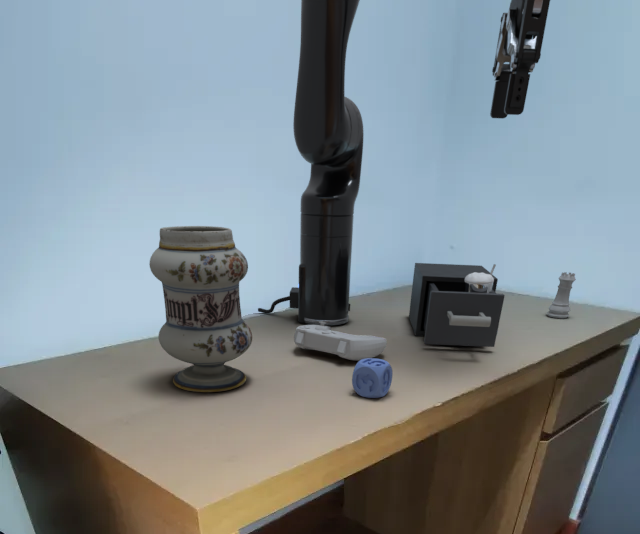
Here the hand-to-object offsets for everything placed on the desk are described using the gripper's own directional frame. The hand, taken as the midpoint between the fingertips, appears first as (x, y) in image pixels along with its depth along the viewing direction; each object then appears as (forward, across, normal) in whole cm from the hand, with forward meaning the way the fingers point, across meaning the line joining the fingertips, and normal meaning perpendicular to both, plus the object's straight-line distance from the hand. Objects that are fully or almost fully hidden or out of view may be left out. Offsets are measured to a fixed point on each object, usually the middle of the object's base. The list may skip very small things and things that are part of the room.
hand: (505, 116), depth 72 cm
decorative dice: (+30, +18, -15) cm, 38 cm away
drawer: (+29, -9, 0) cm, 30 cm away
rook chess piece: (+30, -35, +25) cm, 53 cm away
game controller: (+30, 0, -20) cm, 36 cm away
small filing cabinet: (+30, -21, 0) cm, 37 cm away
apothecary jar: (+30, +16, -37) cm, 50 cm away
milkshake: (+28, -9, +3) cm, 30 cm away
